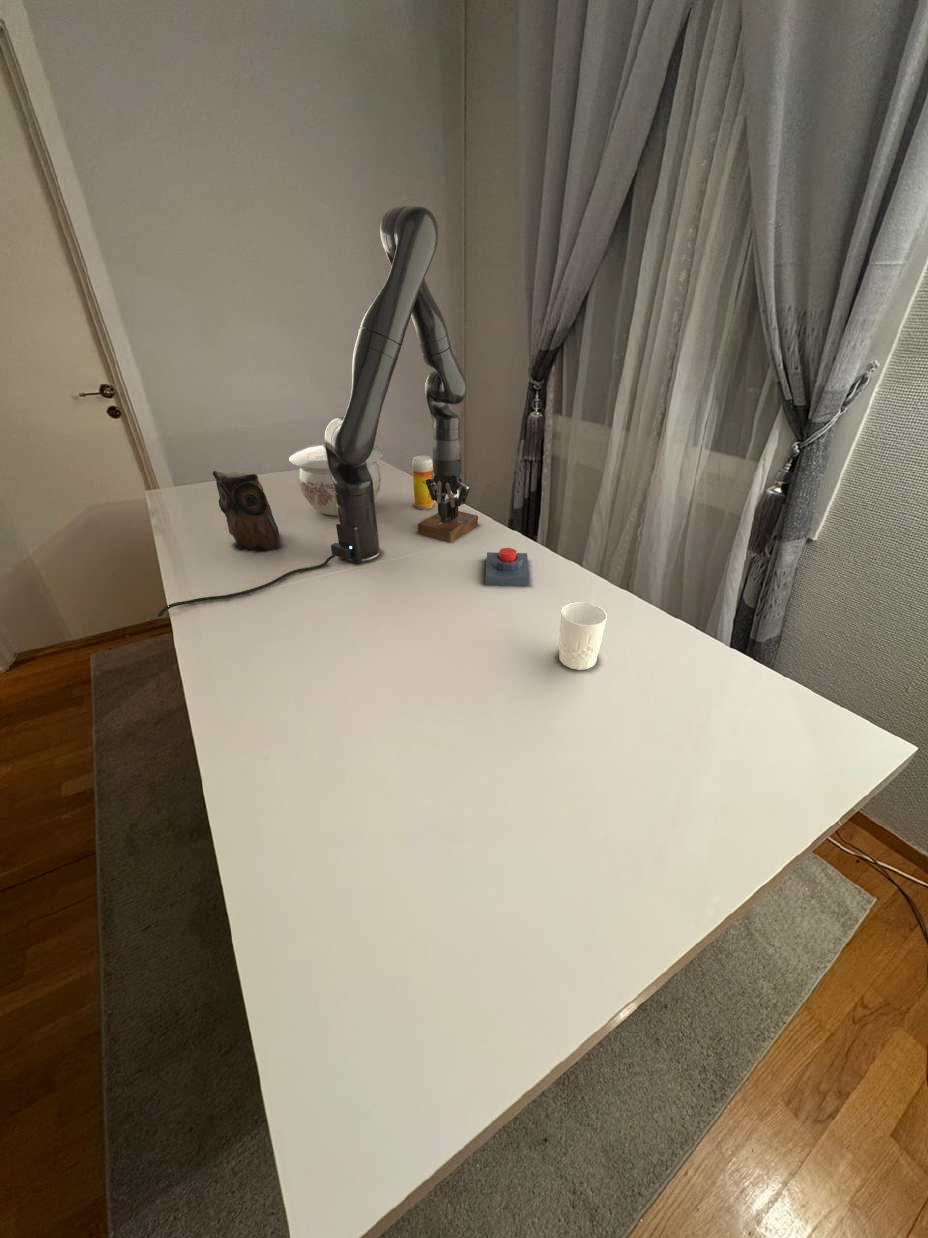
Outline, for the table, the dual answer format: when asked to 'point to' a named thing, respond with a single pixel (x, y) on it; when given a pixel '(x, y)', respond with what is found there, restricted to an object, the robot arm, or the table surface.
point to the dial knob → (445, 510)
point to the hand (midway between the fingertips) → (448, 517)
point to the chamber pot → (326, 476)
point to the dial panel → (448, 526)
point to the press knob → (507, 554)
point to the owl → (247, 511)
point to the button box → (507, 570)
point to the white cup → (581, 634)
